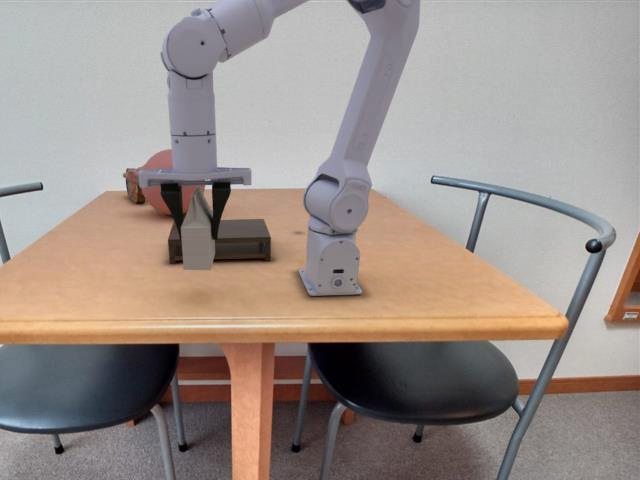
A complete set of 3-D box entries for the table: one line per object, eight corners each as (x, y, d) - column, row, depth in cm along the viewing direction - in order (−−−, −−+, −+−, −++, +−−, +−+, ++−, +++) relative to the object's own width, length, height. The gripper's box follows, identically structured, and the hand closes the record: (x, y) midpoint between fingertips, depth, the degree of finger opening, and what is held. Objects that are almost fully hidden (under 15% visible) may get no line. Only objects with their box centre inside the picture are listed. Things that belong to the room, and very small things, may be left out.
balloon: (138, 205, 116) (132, 145, 110) (211, 207, 114) (209, 145, 107) (116, 221, 103) (107, 153, 96) (199, 223, 100) (195, 154, 93)
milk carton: (215, 253, 65) (212, 185, 60) (210, 270, 59) (207, 196, 54) (190, 253, 65) (186, 185, 61) (183, 269, 59) (178, 196, 55)
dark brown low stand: (270, 260, 78) (270, 236, 76) (169, 263, 77) (167, 239, 75) (263, 240, 88) (263, 218, 87) (175, 242, 88) (173, 220, 86)
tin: (126, 195, 128) (122, 166, 125) (136, 194, 129) (133, 165, 126) (137, 206, 116) (134, 174, 112) (149, 204, 117) (146, 173, 113)
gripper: (248, 130, 58) (248, 228, 64) (140, 132, 58) (150, 231, 64) (252, 135, 52) (252, 243, 58) (131, 137, 51) (143, 246, 57)
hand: (199, 238), depth 60 cm, fingers closed on milk carton, 4 cm apart
